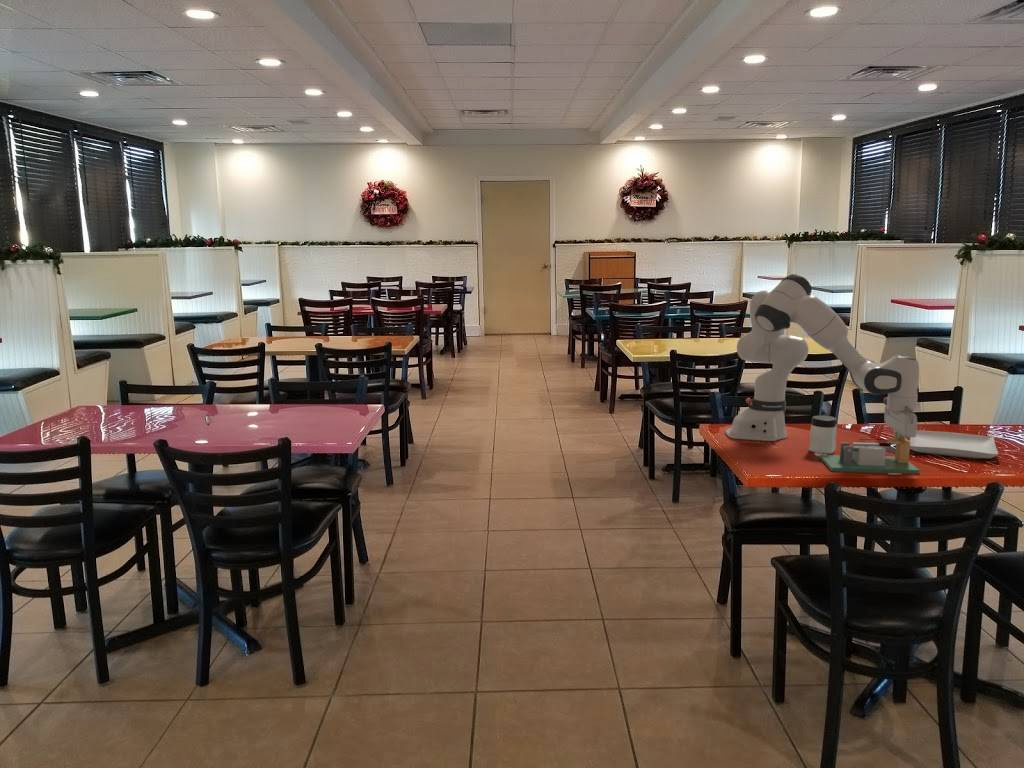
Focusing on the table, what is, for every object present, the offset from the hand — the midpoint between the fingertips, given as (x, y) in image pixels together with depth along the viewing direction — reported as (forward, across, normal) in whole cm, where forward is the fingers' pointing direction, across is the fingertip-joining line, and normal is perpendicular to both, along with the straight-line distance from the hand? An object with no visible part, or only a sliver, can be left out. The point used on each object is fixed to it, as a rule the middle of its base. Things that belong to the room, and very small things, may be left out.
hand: (898, 444), depth 267 cm
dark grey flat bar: (+1, -6, +11) cm, 13 cm away
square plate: (+7, +20, -25) cm, 32 cm away
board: (+6, -6, +11) cm, 14 cm away
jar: (+6, +13, +21) cm, 25 cm away
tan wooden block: (+5, -4, +1) cm, 6 cm away
